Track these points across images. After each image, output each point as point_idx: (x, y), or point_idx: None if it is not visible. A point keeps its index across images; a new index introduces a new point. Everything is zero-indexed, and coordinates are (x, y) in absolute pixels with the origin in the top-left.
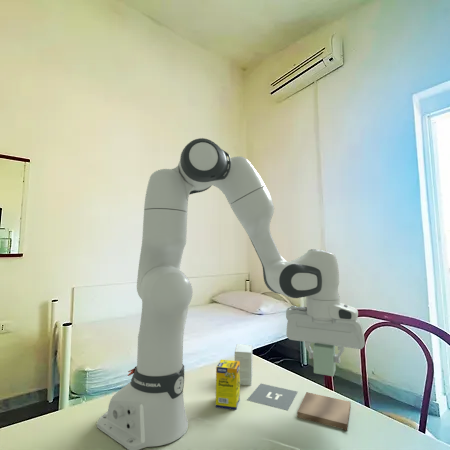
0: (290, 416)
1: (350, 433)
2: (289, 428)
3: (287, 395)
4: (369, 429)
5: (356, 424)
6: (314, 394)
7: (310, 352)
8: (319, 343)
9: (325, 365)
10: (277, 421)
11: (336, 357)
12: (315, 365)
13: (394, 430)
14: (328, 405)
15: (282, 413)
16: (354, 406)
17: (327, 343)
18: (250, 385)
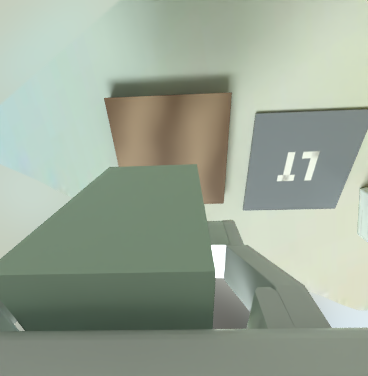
0: (245, 90)
1: (101, 90)
2: (240, 21)
3: (264, 183)
4: (74, 131)
5: (102, 138)
6: (204, 200)
7: (232, 244)
8: (139, 331)
9: (131, 184)
10: (277, 41)
11: None
12: (188, 179)
13: (36, 154)
14: None
15: (267, 94)
16: None
17: (14, 349)
18: (362, 188)
